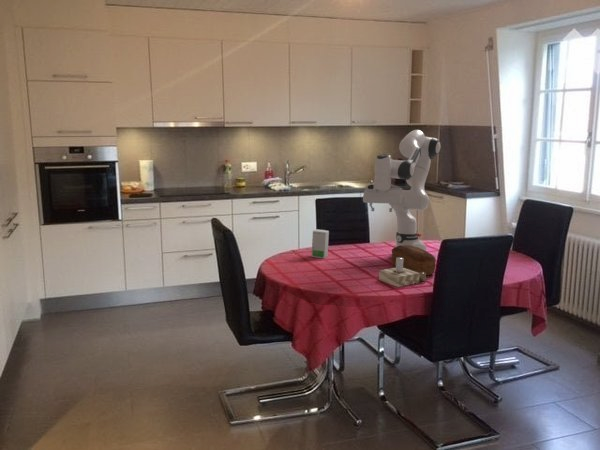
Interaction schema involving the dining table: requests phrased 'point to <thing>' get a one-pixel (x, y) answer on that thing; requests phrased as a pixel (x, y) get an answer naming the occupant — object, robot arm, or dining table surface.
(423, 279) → the short bronze pin
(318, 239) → the skincare box
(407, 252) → the bread
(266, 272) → the dining table surface
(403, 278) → the birch block
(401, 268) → the tall steel pin
